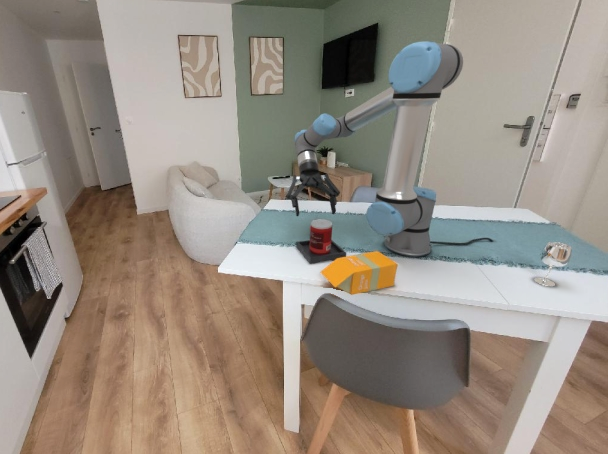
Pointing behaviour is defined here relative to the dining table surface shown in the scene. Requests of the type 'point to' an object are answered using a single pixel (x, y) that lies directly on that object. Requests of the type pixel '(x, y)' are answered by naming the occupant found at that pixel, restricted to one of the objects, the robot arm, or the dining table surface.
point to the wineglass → (554, 259)
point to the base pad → (314, 258)
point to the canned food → (320, 236)
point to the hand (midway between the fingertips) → (316, 213)
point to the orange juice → (361, 272)
